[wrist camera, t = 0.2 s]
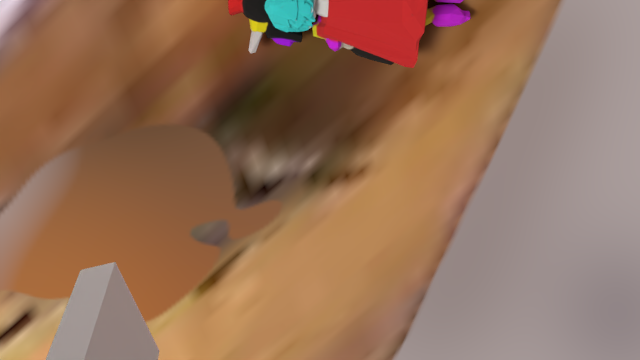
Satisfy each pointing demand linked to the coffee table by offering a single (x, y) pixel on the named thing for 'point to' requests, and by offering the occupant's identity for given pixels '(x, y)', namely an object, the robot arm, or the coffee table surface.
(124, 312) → the robot arm
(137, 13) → the coffee table surface
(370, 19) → the toy
